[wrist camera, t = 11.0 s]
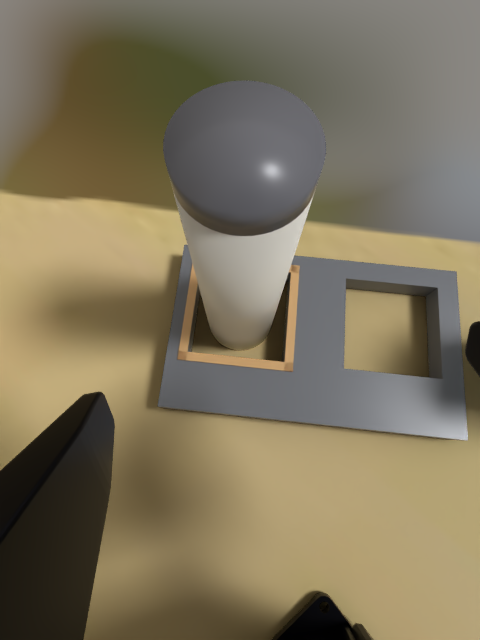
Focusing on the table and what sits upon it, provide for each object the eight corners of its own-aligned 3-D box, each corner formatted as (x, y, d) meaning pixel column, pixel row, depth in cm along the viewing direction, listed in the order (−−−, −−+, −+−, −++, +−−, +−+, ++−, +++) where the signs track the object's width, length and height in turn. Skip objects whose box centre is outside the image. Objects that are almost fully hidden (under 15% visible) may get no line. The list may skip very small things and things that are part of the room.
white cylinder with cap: (256, 360, 23) (290, 239, 8) (198, 334, 23) (134, 177, 9) (281, 304, 24) (348, 110, 9) (224, 281, 24) (206, 61, 10)
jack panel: (452, 439, 21) (469, 440, 20) (162, 407, 22) (157, 406, 20) (443, 280, 24) (457, 270, 23) (187, 255, 25) (184, 243, 23)
